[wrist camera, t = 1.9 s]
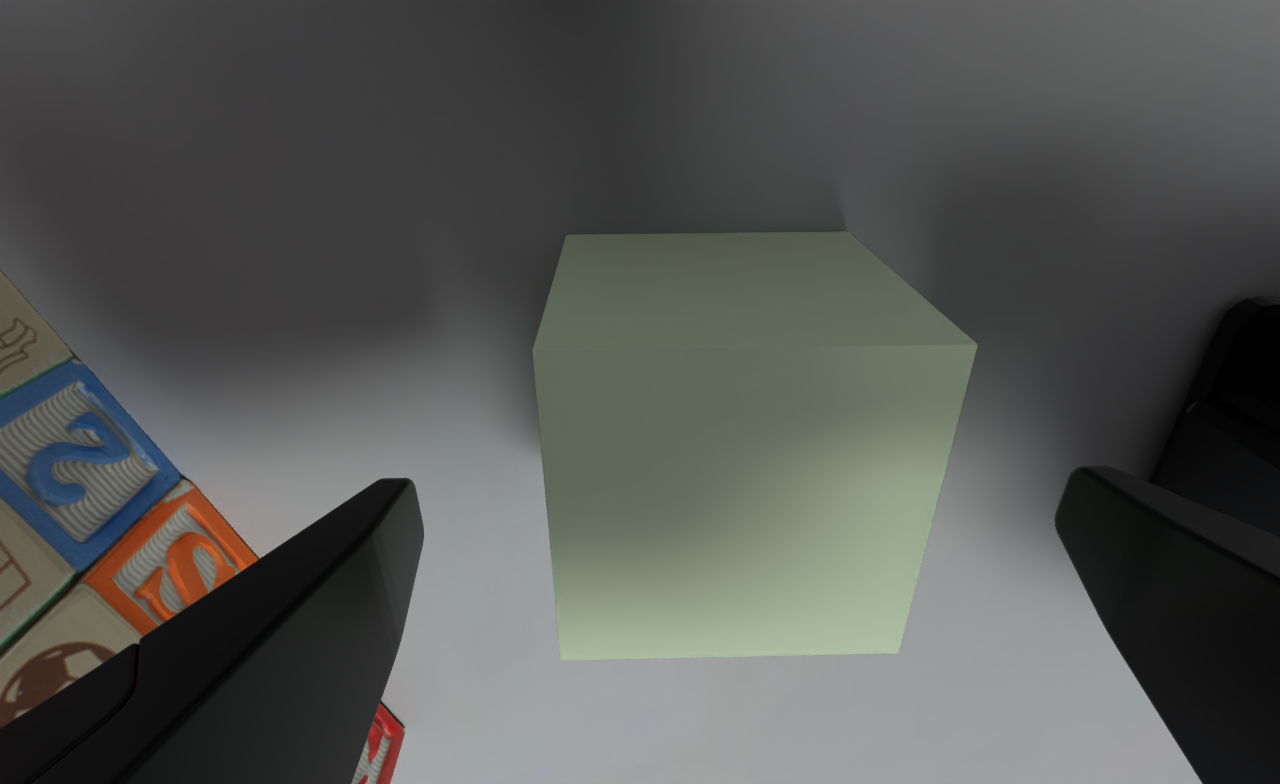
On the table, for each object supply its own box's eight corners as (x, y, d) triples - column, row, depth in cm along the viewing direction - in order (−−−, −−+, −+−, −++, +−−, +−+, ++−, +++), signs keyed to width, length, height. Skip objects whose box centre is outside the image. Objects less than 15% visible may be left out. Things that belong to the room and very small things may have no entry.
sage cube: (845, 230, 12) (977, 344, 7) (812, 462, 14) (899, 653, 10) (566, 233, 12) (532, 351, 7) (580, 466, 14) (560, 660, 10)
